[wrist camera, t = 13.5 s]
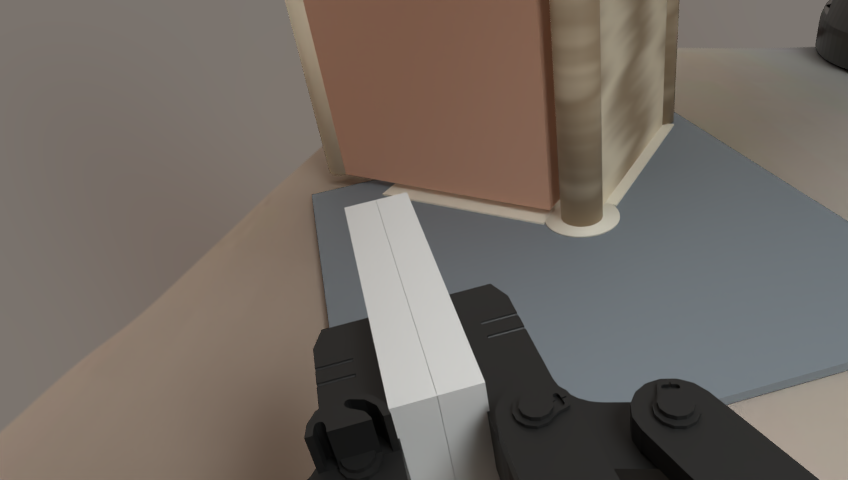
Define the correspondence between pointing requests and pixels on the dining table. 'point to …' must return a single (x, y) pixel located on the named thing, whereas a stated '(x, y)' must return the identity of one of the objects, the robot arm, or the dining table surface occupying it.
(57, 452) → the dining table surface
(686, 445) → the robot arm
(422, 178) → the pink wooden flat board
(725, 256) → the card
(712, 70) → the dining table surface
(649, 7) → the fixed fence section
